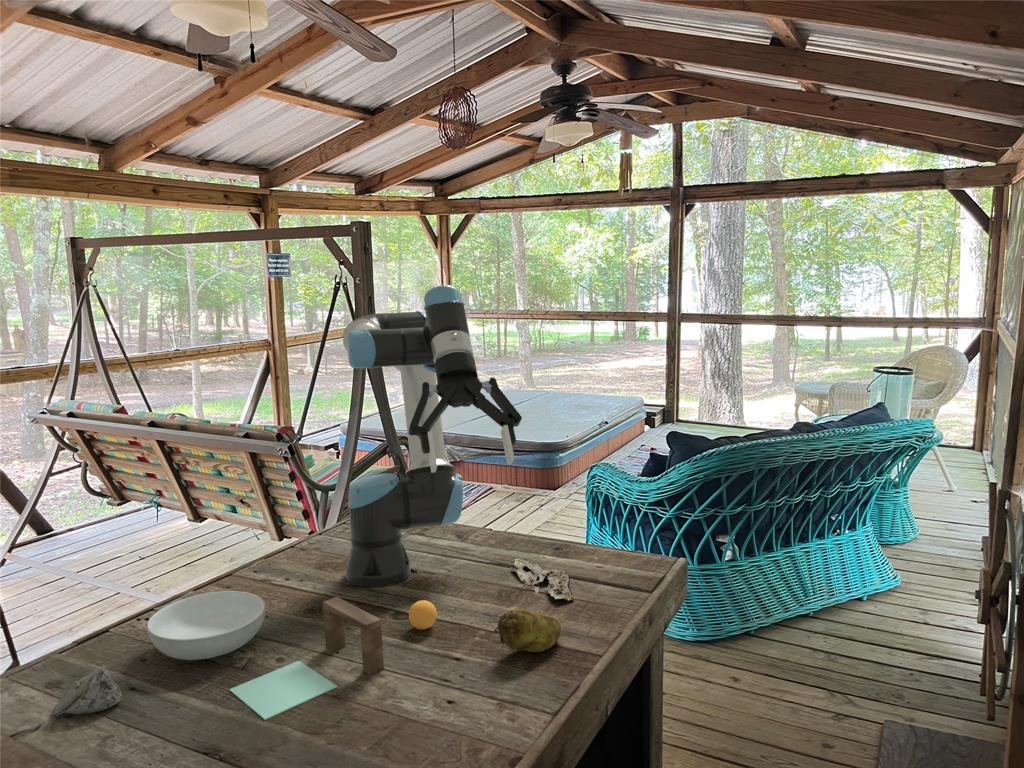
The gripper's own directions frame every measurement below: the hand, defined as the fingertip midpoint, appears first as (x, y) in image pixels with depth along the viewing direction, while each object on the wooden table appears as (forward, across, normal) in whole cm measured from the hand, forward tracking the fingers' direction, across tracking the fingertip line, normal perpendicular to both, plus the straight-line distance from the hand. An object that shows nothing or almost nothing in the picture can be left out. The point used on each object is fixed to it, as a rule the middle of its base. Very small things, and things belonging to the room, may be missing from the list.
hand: (473, 465), depth 128 cm
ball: (+17, -8, +33) cm, 38 cm away
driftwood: (+12, +21, +46) cm, 52 cm away
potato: (+29, +10, +22) cm, 38 cm away
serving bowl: (+16, -48, +40) cm, 64 cm away
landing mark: (+28, -34, +23) cm, 50 cm away
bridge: (+24, -22, +28) cm, 43 cm away
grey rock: (+24, -65, +28) cm, 75 cm away
